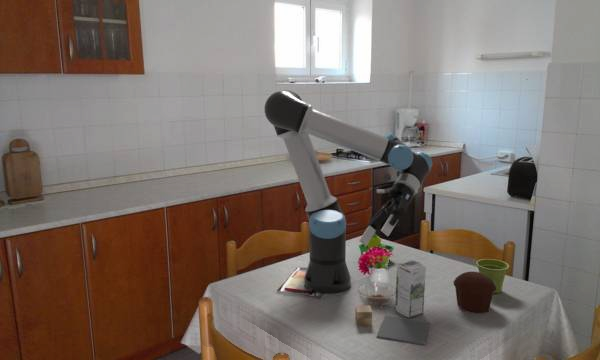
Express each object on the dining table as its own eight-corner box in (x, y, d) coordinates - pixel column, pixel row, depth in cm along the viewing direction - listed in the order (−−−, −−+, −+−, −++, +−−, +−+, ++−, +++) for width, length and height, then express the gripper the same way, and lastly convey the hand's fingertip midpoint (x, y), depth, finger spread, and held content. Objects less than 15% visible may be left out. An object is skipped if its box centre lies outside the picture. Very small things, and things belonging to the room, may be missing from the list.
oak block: (357, 326, 130) (357, 312, 129) (355, 319, 134) (355, 305, 133) (371, 325, 130) (372, 312, 129) (369, 318, 134) (370, 305, 133)
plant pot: (502, 299, 145) (504, 271, 144) (470, 291, 151) (472, 265, 150) (510, 288, 153) (512, 262, 151) (480, 282, 158) (481, 256, 157)
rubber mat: (376, 337, 124) (376, 335, 124) (385, 316, 135) (385, 315, 135) (424, 345, 120) (424, 343, 120) (429, 323, 131) (429, 322, 131)
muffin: (497, 303, 143) (499, 271, 141) (492, 318, 133) (494, 284, 131) (456, 295, 148) (457, 264, 147) (448, 309, 139) (449, 276, 137)
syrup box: (409, 306, 141) (410, 258, 139) (424, 313, 136) (426, 265, 134) (394, 311, 138) (396, 262, 136) (409, 319, 133) (411, 269, 131)
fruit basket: (394, 259, 180) (395, 230, 178) (381, 266, 173) (382, 236, 171) (368, 253, 187) (369, 225, 185) (355, 259, 181) (355, 230, 179)
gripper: (435, 185, 147) (404, 236, 137) (392, 208, 169) (363, 254, 158) (417, 169, 146) (385, 219, 136) (376, 194, 168) (345, 239, 158)
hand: (373, 238), depth 147 cm, fingers open, 13 cm apart
